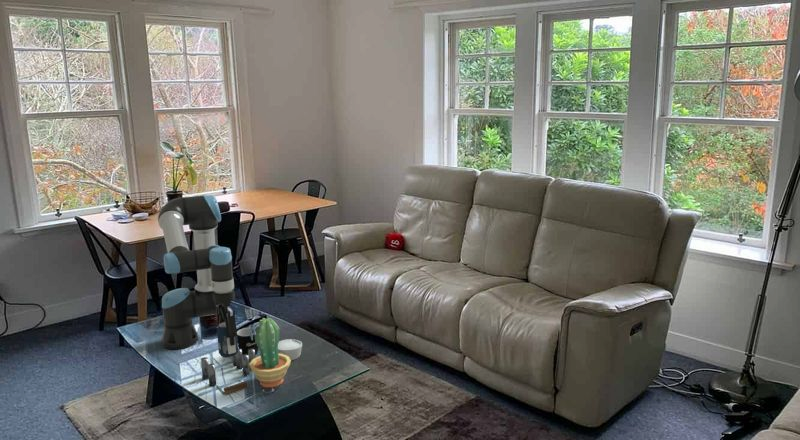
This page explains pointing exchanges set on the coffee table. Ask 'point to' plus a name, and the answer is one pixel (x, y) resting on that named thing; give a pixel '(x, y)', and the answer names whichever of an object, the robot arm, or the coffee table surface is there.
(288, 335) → the coffee table surface
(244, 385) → the walnut stop
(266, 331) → the potted cactus
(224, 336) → the soda can
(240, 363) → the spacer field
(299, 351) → the ramekin
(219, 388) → the bay lines
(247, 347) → the mug
